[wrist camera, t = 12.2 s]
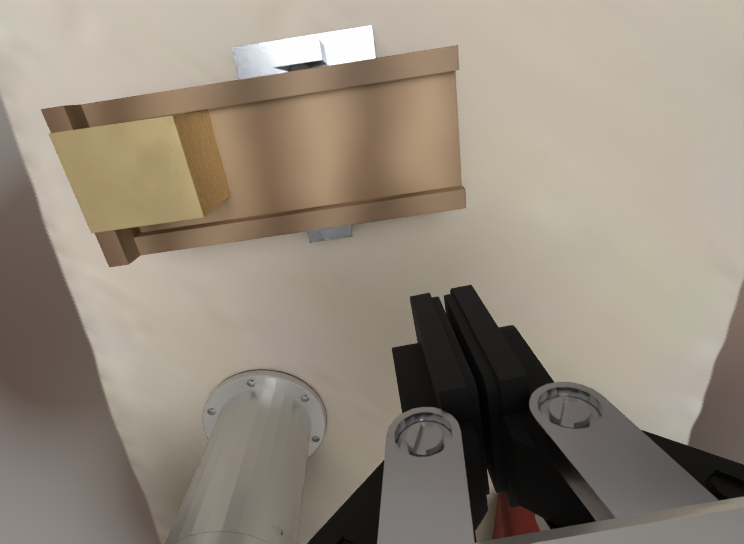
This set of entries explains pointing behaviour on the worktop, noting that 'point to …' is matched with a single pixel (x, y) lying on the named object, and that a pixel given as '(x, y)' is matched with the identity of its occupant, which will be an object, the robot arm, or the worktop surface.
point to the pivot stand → (306, 56)
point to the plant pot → (513, 519)
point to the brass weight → (144, 170)
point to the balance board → (306, 149)
